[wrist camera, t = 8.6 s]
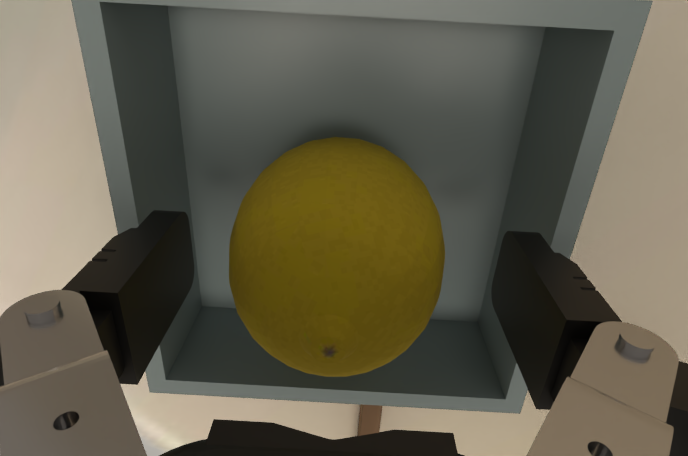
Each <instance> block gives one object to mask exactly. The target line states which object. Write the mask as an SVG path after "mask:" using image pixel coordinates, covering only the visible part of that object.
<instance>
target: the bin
mask: <svg viewBox="0 0 688 456" xmlns="http://www.w3.org/2000/svg"><path fill="white" fill-rule="evenodd" d="M71 1H72V6H73V11H74V16H75V21H76V26H77V31H78V36H79V41H80V46H81V51H82V56H83V61H84V66H85V71H86V76H87V81H88V86H89V91H90V96H91V101H92V106H93V111H94V116H95V121H96V126H97V131H98V136H99V141H100V146H101V151H102V156H103V161H104V166H105V171H106V176H107V181H108V186H109V191H110V196H111V201H112V206H113V211H114V216H115V221H116V226H117V231H118V235H119V234H120V233H122V232H124V231H126V230H128V229H130V228H137V227H138V226H139V225H140V224H141V223H142V222H143V221H144V220H145V219H146V218H147V216H148V215H149V214H150V213H151V212H152V211H154V210H164V211H181V212H186V214H187V215H188V218H189V224H190V233H191V241H192V250H193V258H194V279H193V284H192V287H191V289H190V291H189V293H188V295H187V297H186V298H185V300H184V302H183V304H182V306H181V307H180V309H179V311H178V313H177V314H176V316H175V318H174V320H173V322H172V323H171V325H170V327H169V329H168V331H167V332H166V334H165V336H164V338H163V340H162V341H161V343H160V345H159V347H158V349H157V350H156V352H155V354H154V356H153V358H152V359H151V361H150V363H149V365H148V367H147V368H146V370H145V371H146V376H147V381H148V386H149V391H150V392H153V393H170V394H188V395H205V396H222V397H240V398H257V399H275V400H292V401H310V402H327V403H345V404H362V405H380V406H397V407H415V408H432V409H449V410H467V411H484V412H502V413H519V414H520V412H521V409H522V406H523V403H524V399H525V396H526V393H527V390H528V388H527V386H526V384H525V381H524V379H523V376H522V374H521V372H520V369H519V367H518V365H517V362H516V360H515V357H514V355H513V353H512V350H511V348H510V346H509V343H508V341H507V339H506V336H505V334H504V331H503V329H502V327H501V324H500V322H499V320H498V317H497V315H496V312H495V310H494V308H493V304H492V297H491V289H492V282H493V278H494V273H495V269H496V265H497V261H498V257H499V252H500V248H501V244H502V240H503V237H504V235H505V233H506V232H507V231H522V232H538V233H540V234H541V235H542V237H543V238H544V239H545V241H546V242H547V243H548V245H549V246H550V247H551V249H552V250H553V251H554V253H561V254H562V255H564V256H565V257H567V258H568V259H570V256H571V253H572V250H573V247H574V244H575V241H576V238H577V235H578V232H579V229H580V225H581V222H582V219H583V216H584V213H585V210H586V207H587V204H588V201H589V197H590V194H591V191H592V188H593V185H594V182H595V179H596V176H597V173H598V169H599V166H600V163H601V160H602V157H603V154H604V151H605V148H606V145H607V141H608V138H609V135H610V132H611V129H612V126H613V123H614V120H615V117H616V113H617V110H618V107H619V104H620V101H621V98H622V95H623V92H624V89H625V86H626V82H627V79H628V76H629V73H630V70H631V67H632V64H633V61H634V58H635V54H636V51H637V48H638V45H639V42H640V39H641V36H642V33H643V30H644V26H645V23H646V20H647V17H648V14H649V11H650V8H651V5H652V2H653V1H647V0H71ZM331 137H344V138H356V139H361V140H364V141H367V142H370V143H373V144H376V145H379V146H382V147H384V148H385V149H387V150H388V151H390V152H391V153H393V154H394V155H396V156H397V157H399V158H400V159H402V160H403V161H405V162H406V163H407V165H408V166H409V167H410V168H411V169H412V170H413V171H414V172H415V174H416V175H417V176H418V177H419V178H420V179H421V180H422V181H423V182H424V184H425V186H426V188H427V190H428V192H429V194H430V196H431V198H432V200H433V202H434V204H435V206H436V208H437V210H438V213H439V215H440V220H441V226H442V232H443V238H444V244H445V263H444V270H443V278H442V285H441V291H440V295H439V299H438V302H437V304H436V306H435V308H434V311H433V313H432V315H431V317H430V320H429V322H428V324H427V326H426V328H425V329H424V330H423V332H422V333H421V334H420V335H419V336H418V337H417V339H416V340H415V341H414V342H413V343H412V345H411V346H410V347H409V348H408V349H407V350H406V351H405V352H403V353H402V354H400V355H399V356H398V357H396V358H395V359H393V360H392V361H391V362H389V363H387V364H385V365H383V366H381V367H378V368H376V369H374V370H371V371H369V372H367V373H362V374H357V375H352V376H347V377H326V376H320V375H314V374H308V373H305V372H302V371H300V370H297V369H294V368H292V367H289V366H287V365H286V364H284V363H282V362H281V361H279V360H278V359H276V358H274V357H273V356H271V355H270V354H269V353H268V352H267V351H266V350H264V349H263V348H262V347H261V346H260V345H259V344H258V343H257V342H256V341H255V340H254V339H253V338H252V336H251V334H250V333H249V331H248V330H247V328H246V326H245V325H244V323H243V321H242V320H241V318H240V316H239V315H238V313H237V309H236V306H235V302H234V298H233V295H232V291H231V288H230V284H229V244H230V237H231V232H232V229H233V225H234V222H235V219H236V216H237V213H238V210H239V207H240V204H241V202H242V200H243V198H244V196H245V195H246V193H247V192H248V190H249V189H250V187H251V186H252V185H253V183H254V182H255V180H256V179H257V178H258V176H259V175H260V173H261V172H262V171H263V170H264V169H265V168H266V167H268V166H269V165H270V164H271V163H273V162H274V161H275V160H276V159H278V158H279V157H280V156H281V155H282V154H284V153H285V152H287V151H289V150H291V149H293V148H295V147H298V146H300V145H302V144H304V143H307V142H309V141H312V140H319V139H325V138H331Z"/></svg>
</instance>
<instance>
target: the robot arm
mask: <svg viewBox="0 0 688 456" xmlns="http://www.w3.org/2000/svg"><path fill="white" fill-rule="evenodd" d="M193 279H194V258H193V250H192V241H191V233H190V224H189V218H188V215H187V214H186V212H181V211H164V210H154V211H152V212H151V213H150V214H149V215H148V216H147V218H146V219H145V220H144V221H143V222H142V223H141V224H140V225H139V226H138V227H137V228H130V229H128V230H126V231H124V232H122V233H120V234H119V235H117V236H115V237H113V238H112V239H111V240H110V241H109V242H108V243H107V244H106V245H105V246H104V247H103V248H102V251H99V252H98V253H97V254H96V255H95V256H94V257H93V258H92V261H89V262H88V263H87V264H86V265H85V267H84V268H83V269H82V270H81V271H80V272H79V273H78V274H77V275H76V276H75V277H74V278H73V279H72V280H71V281H70V282H69V283H68V284H67V285H66V286H65V287H64V288H63V289H62V290H53V291H46V292H42V293H38V294H35V295H31V296H29V297H26V298H24V299H22V300H20V301H18V302H16V303H15V304H13V305H12V306H10V307H9V308H8V309H7V310H6V311H5V312H4V313H3V314H2V315H1V317H0V456H147V455H146V452H145V450H144V447H143V444H142V441H141V439H140V436H139V433H138V431H137V428H136V425H135V423H134V420H133V417H132V415H131V412H130V409H129V407H128V404H127V401H126V399H125V396H124V393H123V391H122V388H121V385H120V384H136V385H138V383H139V381H140V379H141V377H142V376H143V374H144V372H145V370H146V368H147V367H148V365H149V363H150V361H151V359H152V358H153V356H154V354H155V352H156V350H157V349H158V347H159V345H160V343H161V341H162V340H163V338H164V336H165V334H166V332H167V331H168V329H169V327H170V325H171V323H172V322H173V320H174V318H175V316H176V314H177V313H178V311H179V309H180V307H181V306H182V304H183V302H184V300H185V298H186V297H187V295H188V293H189V291H190V289H191V287H192V284H193ZM491 297H492V304H493V308H494V310H495V312H496V315H497V317H498V320H499V322H500V324H501V327H502V329H503V331H504V334H505V336H506V339H507V341H508V343H509V346H510V348H511V350H512V353H513V355H514V357H515V360H516V362H517V365H518V367H519V369H520V372H521V374H522V376H523V379H524V381H525V384H526V386H527V388H528V391H529V393H530V395H531V398H532V400H533V402H534V405H535V407H536V409H548V410H550V411H549V413H548V415H547V417H546V419H545V421H544V423H543V425H542V426H541V428H540V430H539V432H538V434H537V436H536V438H535V440H534V442H533V444H532V446H531V448H530V450H529V452H528V454H527V456H688V364H687V363H683V362H680V361H679V359H678V356H677V354H676V352H675V350H674V349H673V348H672V347H671V346H670V345H669V344H668V343H667V342H666V341H665V340H663V339H662V338H661V337H659V336H657V335H656V334H654V333H652V332H650V331H649V330H646V329H644V328H642V327H639V326H636V325H633V324H629V323H624V322H622V321H621V320H620V319H619V317H618V316H617V315H616V313H615V312H614V311H613V310H612V308H611V307H610V306H609V305H608V303H607V302H606V301H605V300H604V298H603V297H602V296H601V294H600V293H599V292H598V291H595V287H594V286H593V284H592V283H591V282H590V281H589V280H587V277H586V275H585V274H584V273H583V272H582V270H581V269H580V268H579V267H578V265H577V264H575V263H574V262H572V261H571V260H570V259H568V258H567V257H565V256H564V255H562V254H561V253H554V251H553V250H552V249H551V247H550V246H549V245H548V243H547V242H546V241H545V239H544V238H543V237H542V235H541V234H540V233H538V232H522V231H507V232H506V233H505V235H504V237H503V240H502V244H501V248H500V252H499V257H498V261H497V265H496V269H495V273H494V278H493V282H492V289H491ZM160 456H464V455H461V454H457V449H456V444H455V439H454V435H453V433H442V432H424V431H407V430H390V431H384V432H379V433H373V434H367V435H361V436H356V437H350V438H344V439H337V440H331V439H326V438H323V437H319V436H316V435H312V434H309V433H306V432H302V431H299V430H295V429H292V428H289V427H285V426H282V425H278V424H275V423H267V422H250V421H233V420H215V419H214V421H213V423H212V426H211V429H210V432H209V435H208V438H207V439H206V440H200V441H196V442H193V443H189V444H186V445H183V446H180V447H178V448H175V449H172V450H170V451H168V452H166V453H164V454H162V455H160Z"/></svg>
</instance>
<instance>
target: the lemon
mask: <svg viewBox="0 0 688 456" xmlns="http://www.w3.org/2000/svg"><path fill="white" fill-rule="evenodd" d="M444 263H445V244H444V238H443V232H442V226H441V220H440V215H439V213H438V210H437V208H436V206H435V204H434V202H433V200H432V198H431V196H430V194H429V192H428V190H427V188H426V186H425V184H424V182H423V181H422V180H421V179H420V178H419V177H418V176H417V175H416V174H415V172H414V171H413V170H412V169H411V168H410V167H409V166H408V165H407V163H406V162H405V161H403V160H402V159H400V158H399V157H397V156H396V155H394V154H393V153H391V152H390V151H388V150H387V149H385V148H384V147H382V146H379V145H376V144H373V143H370V142H367V141H364V140H361V139H356V138H344V137H331V138H325V139H319V140H312V141H309V142H307V143H304V144H302V145H300V146H298V147H295V148H293V149H291V150H289V151H287V152H285V153H284V154H282V155H281V156H280V157H279V158H278V159H276V160H275V161H274V162H273V163H271V164H270V165H269V166H268V167H266V168H265V169H264V170H263V171H262V172H261V173H260V175H259V176H258V178H257V179H256V180H255V182H254V183H253V185H252V186H251V187H250V189H249V190H248V192H247V193H246V195H245V196H244V198H243V200H242V202H241V204H240V207H239V210H238V213H237V216H236V219H235V222H234V225H233V229H232V232H231V237H230V244H229V284H230V288H231V291H232V295H233V298H234V302H235V306H236V309H237V313H238V315H239V316H240V318H241V320H242V321H243V323H244V325H245V326H246V328H247V330H248V331H249V333H250V334H251V336H252V338H253V339H254V340H255V341H256V342H257V343H258V344H259V345H260V346H261V347H262V348H263V349H264V350H266V351H267V352H268V353H269V354H270V355H271V356H273V357H274V358H276V359H278V360H279V361H281V362H282V363H284V364H286V365H287V366H289V367H292V368H294V369H297V370H300V371H302V372H305V373H308V374H314V375H320V376H326V377H347V376H352V375H357V374H362V373H367V372H369V371H371V370H374V369H376V368H378V367H381V366H383V365H385V364H387V363H389V362H391V361H392V360H393V359H395V358H396V357H398V356H399V355H400V354H402V353H403V352H405V351H406V350H407V349H408V348H409V347H410V346H411V345H412V343H413V342H414V341H415V340H416V339H417V337H418V336H419V335H420V334H421V333H422V332H423V330H424V329H425V328H426V326H427V324H428V322H429V320H430V317H431V315H432V313H433V311H434V308H435V306H436V304H437V302H438V299H439V295H440V291H441V285H442V278H443V270H444Z"/></svg>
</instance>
